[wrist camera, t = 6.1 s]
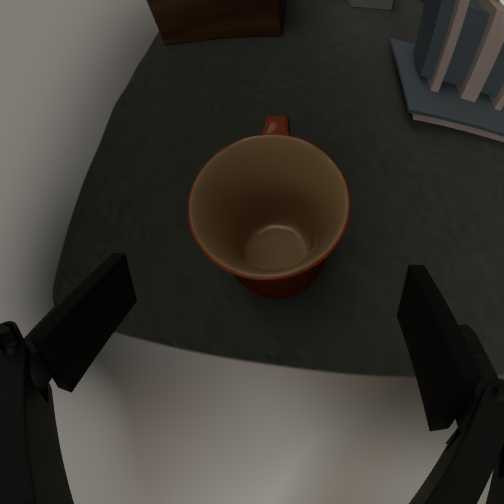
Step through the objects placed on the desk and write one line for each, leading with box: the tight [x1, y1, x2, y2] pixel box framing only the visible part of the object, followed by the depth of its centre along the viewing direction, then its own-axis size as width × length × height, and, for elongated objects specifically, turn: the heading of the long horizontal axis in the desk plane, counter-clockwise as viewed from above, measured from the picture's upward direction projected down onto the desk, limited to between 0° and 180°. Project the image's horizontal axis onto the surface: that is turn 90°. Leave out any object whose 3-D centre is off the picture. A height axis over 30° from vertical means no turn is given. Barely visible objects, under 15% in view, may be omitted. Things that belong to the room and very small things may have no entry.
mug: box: [187, 115, 351, 298], centre depth 22 cm, size 12×9×10 cm
